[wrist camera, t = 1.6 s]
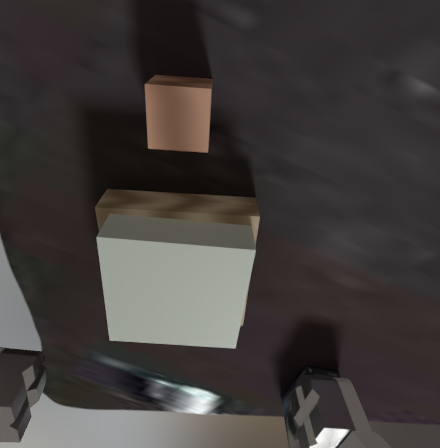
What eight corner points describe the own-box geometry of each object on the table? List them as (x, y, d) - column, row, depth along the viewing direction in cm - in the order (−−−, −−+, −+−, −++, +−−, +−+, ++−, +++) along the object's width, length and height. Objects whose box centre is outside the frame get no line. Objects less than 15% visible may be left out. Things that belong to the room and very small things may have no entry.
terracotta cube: (212, 78, 28) (211, 88, 24) (209, 134, 31) (207, 152, 27) (155, 74, 28) (144, 83, 24) (157, 131, 31) (148, 148, 26)
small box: (303, 364, 51) (321, 436, 42) (340, 370, 52) (365, 442, 43) (278, 398, 56) (289, 469, 47) (312, 404, 57) (329, 474, 48)
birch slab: (255, 195, 35) (259, 216, 31) (240, 299, 43) (242, 325, 40) (108, 186, 34) (94, 207, 30) (123, 293, 43) (113, 319, 39)
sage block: (251, 225, 32) (255, 250, 28) (233, 320, 39) (235, 348, 36) (109, 213, 31) (96, 237, 27) (119, 312, 38) (109, 340, 35)
